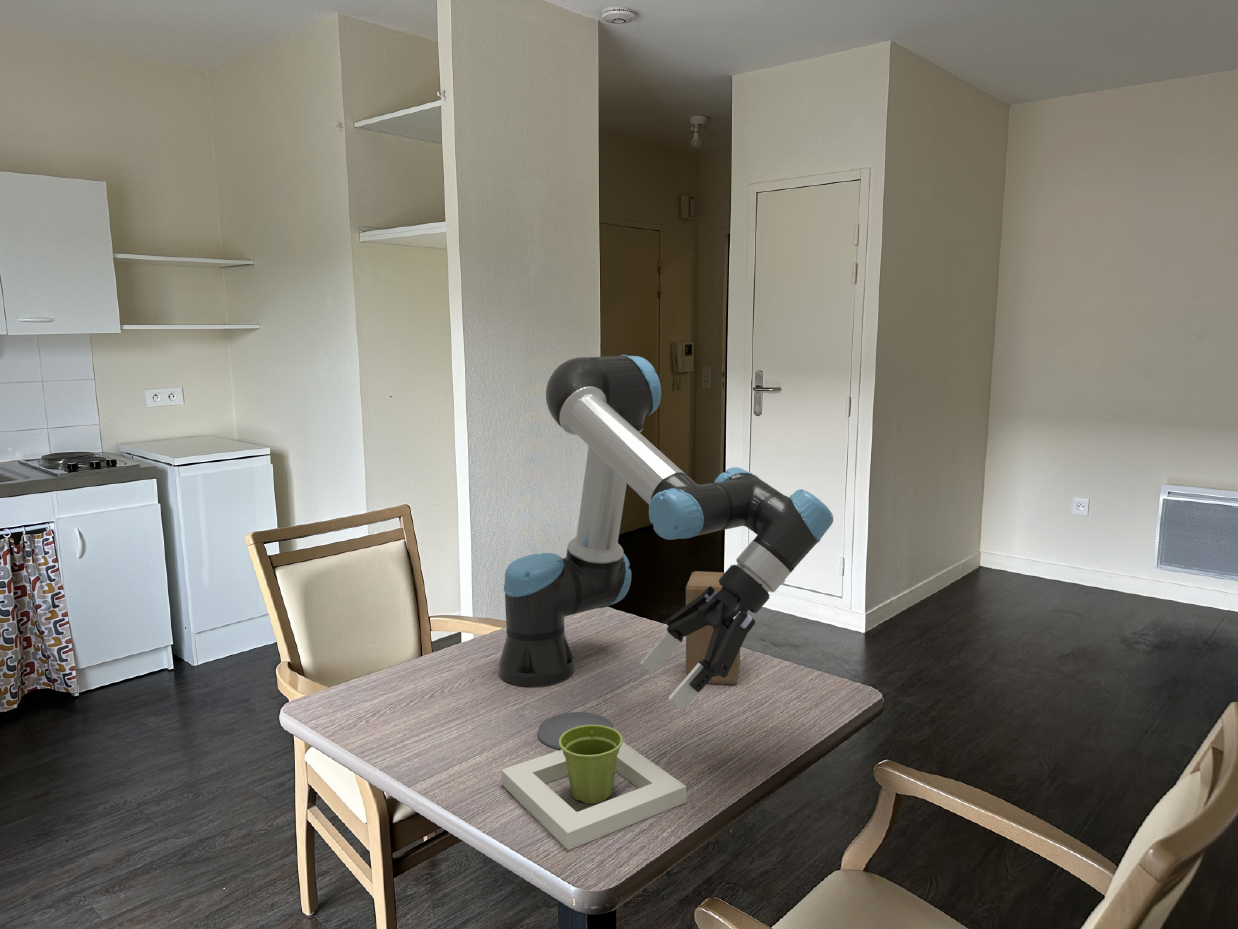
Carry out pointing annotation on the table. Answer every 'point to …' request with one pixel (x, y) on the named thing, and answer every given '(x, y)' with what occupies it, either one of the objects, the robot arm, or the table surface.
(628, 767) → the well board
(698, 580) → the wooden block
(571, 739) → the plant pot
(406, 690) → the table surface
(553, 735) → the mat
